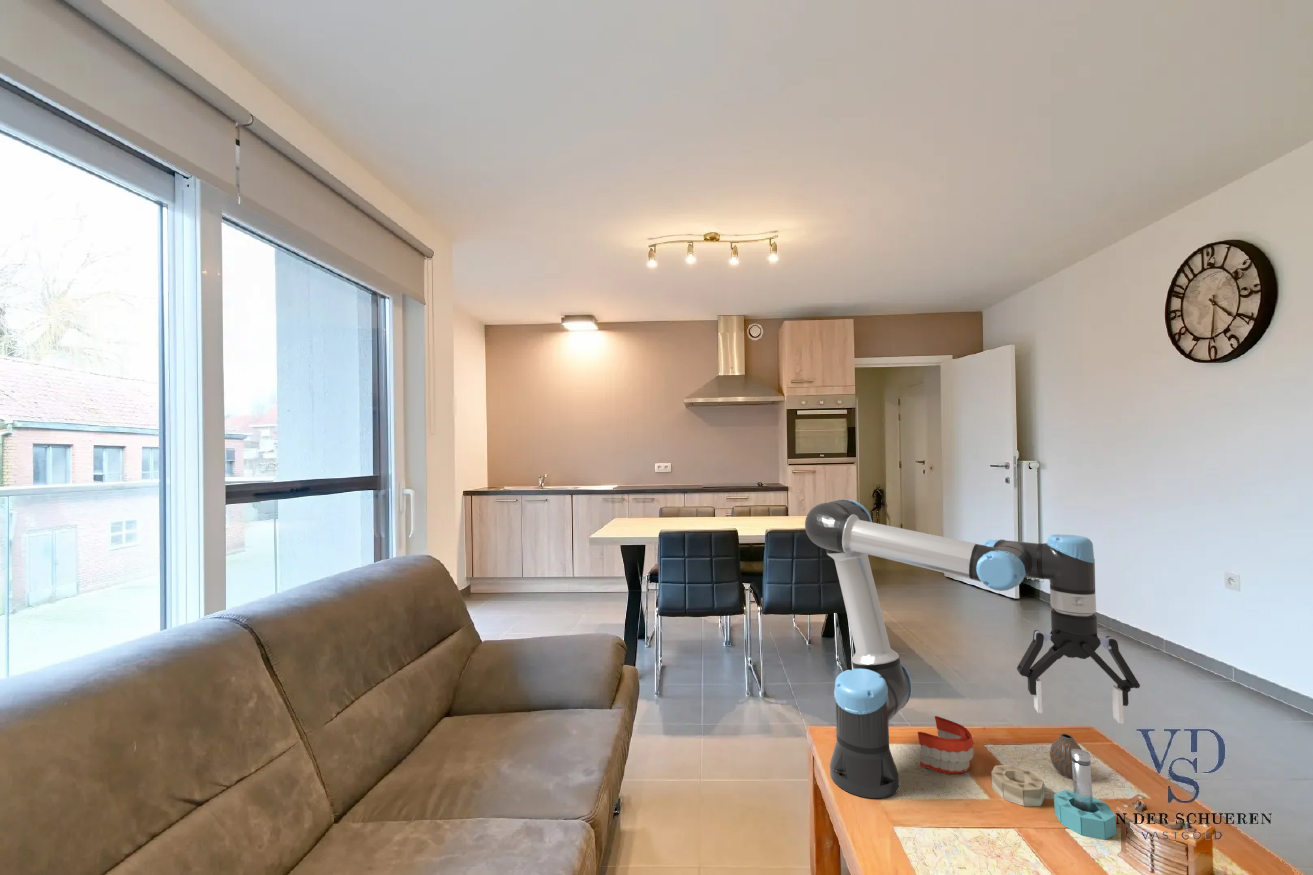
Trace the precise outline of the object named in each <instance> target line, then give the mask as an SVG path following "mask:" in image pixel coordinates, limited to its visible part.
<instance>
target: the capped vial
mask: <svg viewBox="0 0 1313 875" xmlns="http://www.w3.org/2000/svg"><path fill="white" fill-rule="evenodd" d="M1081 749H1082V748H1081ZM1081 749H1072V750H1071V753H1072V755H1071V758H1072V771H1073V779H1072V784H1073V785H1072V786H1073V787H1072V788H1073V789H1072V790H1073V792H1074V807H1076V808H1077V809H1079V810H1081V811H1085V812H1091V813H1093V800H1092V797H1093V787H1092V770H1091V768H1092V766H1091V763H1092V762H1091V754H1090V753H1089V752H1088V751H1087V750H1085V749H1082V750H1081Z"/></svg>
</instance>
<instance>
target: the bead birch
mask: <svg viewBox="0 0 1313 875" xmlns="http://www.w3.org/2000/svg"><path fill="white" fill-rule="evenodd" d="M991 787H992V791H994V792H995V793H996V794H997V795H998V796H999V797H1000V798H1002V800H1004V801H1007V802H1011V803H1013V804H1016V805H1019V806H1021V805H1023V806H1022V807H1025V806H1026V807H1041V806H1043V803H1044V800H1045V784H1044V780H1043V779H1042V778H1041V777H1040V776H1038V775H1037V774H1036V773H1034V771H1031V770H1028V769H1026V768H1023V767H1019V766H1016V765H1013V764H999V765H994V766H993V769H992V770H991Z"/></svg>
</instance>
